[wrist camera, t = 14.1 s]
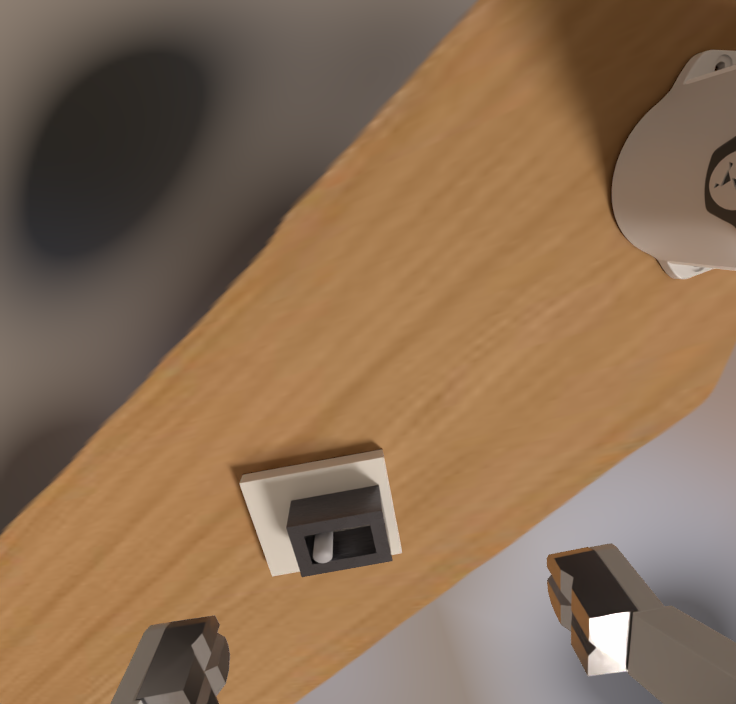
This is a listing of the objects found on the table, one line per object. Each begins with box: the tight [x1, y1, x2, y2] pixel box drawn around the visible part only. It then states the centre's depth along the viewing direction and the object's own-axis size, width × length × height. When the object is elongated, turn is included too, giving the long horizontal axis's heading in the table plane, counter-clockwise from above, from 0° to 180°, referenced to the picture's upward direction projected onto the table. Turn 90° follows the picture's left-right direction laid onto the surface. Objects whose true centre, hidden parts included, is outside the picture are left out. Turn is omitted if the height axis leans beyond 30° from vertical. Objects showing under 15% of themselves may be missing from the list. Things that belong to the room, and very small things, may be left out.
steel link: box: [286, 485, 392, 577], centre depth 44 cm, size 10×7×4 cm
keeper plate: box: [239, 449, 402, 576], centre depth 44 cm, size 16×14×6 cm
